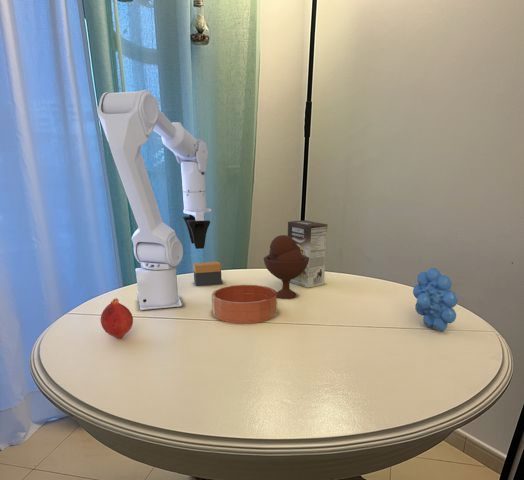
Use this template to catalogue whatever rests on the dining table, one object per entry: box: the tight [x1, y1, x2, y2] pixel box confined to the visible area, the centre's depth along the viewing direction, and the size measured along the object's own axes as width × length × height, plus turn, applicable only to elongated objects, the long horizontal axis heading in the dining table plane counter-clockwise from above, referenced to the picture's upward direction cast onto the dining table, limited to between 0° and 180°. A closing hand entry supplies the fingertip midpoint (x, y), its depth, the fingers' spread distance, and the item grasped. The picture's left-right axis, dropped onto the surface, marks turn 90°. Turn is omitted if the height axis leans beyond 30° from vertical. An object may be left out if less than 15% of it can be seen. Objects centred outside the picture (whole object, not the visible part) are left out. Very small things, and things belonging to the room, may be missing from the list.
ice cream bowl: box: [263, 234, 309, 300], centre depth 110 cm, size 11×11×15 cm
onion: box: [100, 297, 134, 339], centre depth 86 cm, size 6×6×8 cm
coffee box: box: [287, 220, 329, 288], centre depth 121 cm, size 9×6×16 cm
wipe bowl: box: [211, 284, 278, 325], centre depth 100 cm, size 14×14×4 cm
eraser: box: [192, 261, 223, 287], centre depth 123 cm, size 7×4×6 cm, turn 106°
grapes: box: [412, 267, 459, 332], centre depth 90 cm, size 12×7×12 cm, turn 23°
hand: (197, 245), depth 120 cm, fingers open, 7 cm apart
